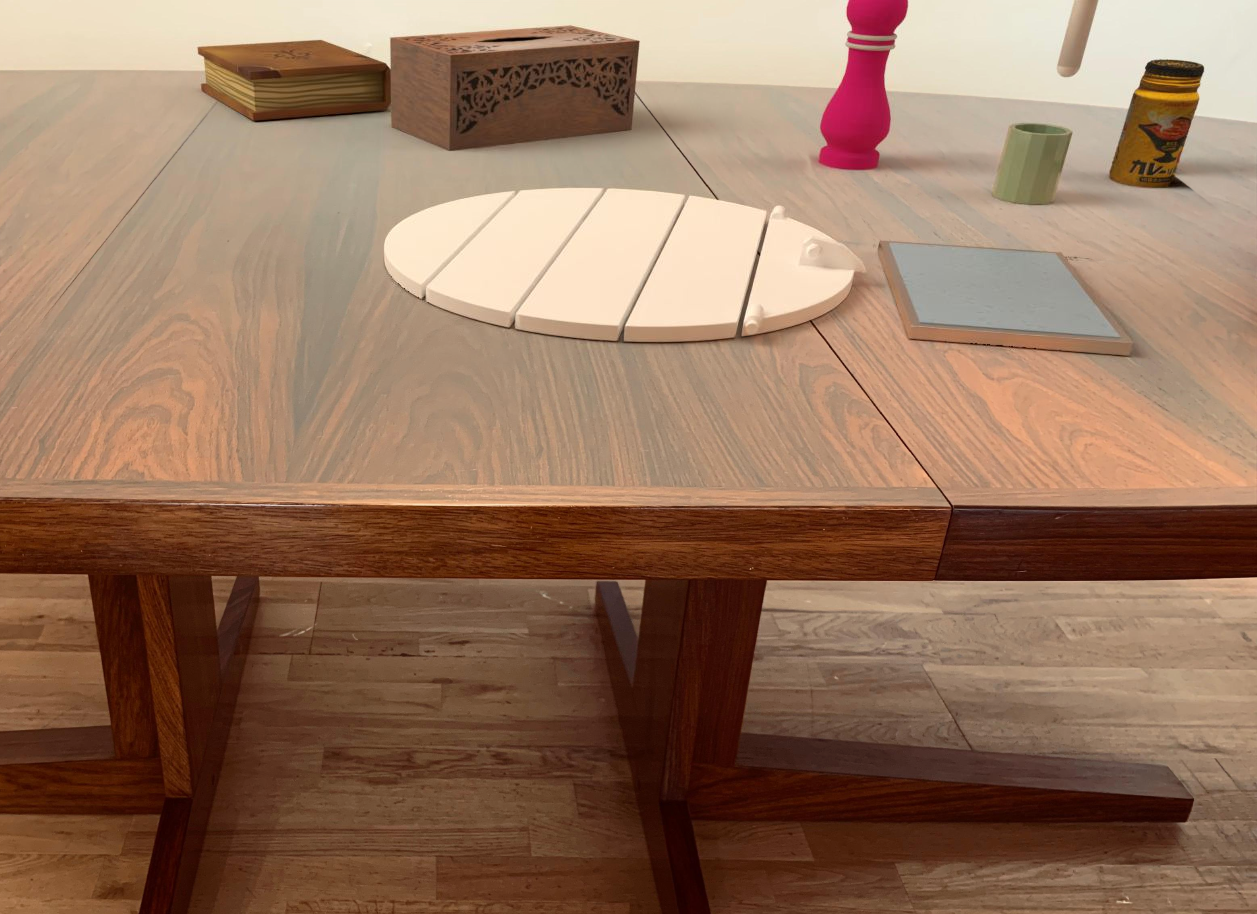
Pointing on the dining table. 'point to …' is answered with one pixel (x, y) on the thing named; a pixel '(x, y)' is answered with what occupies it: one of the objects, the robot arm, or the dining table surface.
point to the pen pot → (1031, 163)
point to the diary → (295, 79)
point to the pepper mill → (862, 87)
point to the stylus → (1076, 37)
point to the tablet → (998, 298)
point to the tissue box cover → (512, 85)
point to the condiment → (1157, 124)
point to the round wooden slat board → (618, 264)
